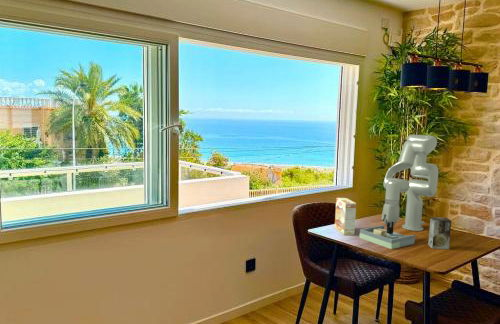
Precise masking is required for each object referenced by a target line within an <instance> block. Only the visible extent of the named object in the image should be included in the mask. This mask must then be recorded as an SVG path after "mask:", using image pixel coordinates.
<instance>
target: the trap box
mask: <svg viewBox="0 0 500 324" xmlns="http://www.w3.org/2000/svg"><path fill="white" fill-rule="evenodd" d="M379 228H380V229H383V230H387V228H385V224H382V225H377V226H371V227H370V226H369V227H366V228H360V229H359V239H361V240H363V241H364V240H365V241H367V242H370V243H373V244H376V245H379V246H381V247H383V248H387V249H390V250H393V249H398V248H401V247H402V248H403V247H406V246H411V245H414V244H415V242H416V235H415V234H411V235H410V234H409V235H405V234H402V233H399V232H395V231H393V234H389V233H387V235H386V237H383V236H380V235H377V234H374V233H373V232H374V229H379Z"/></svg>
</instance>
